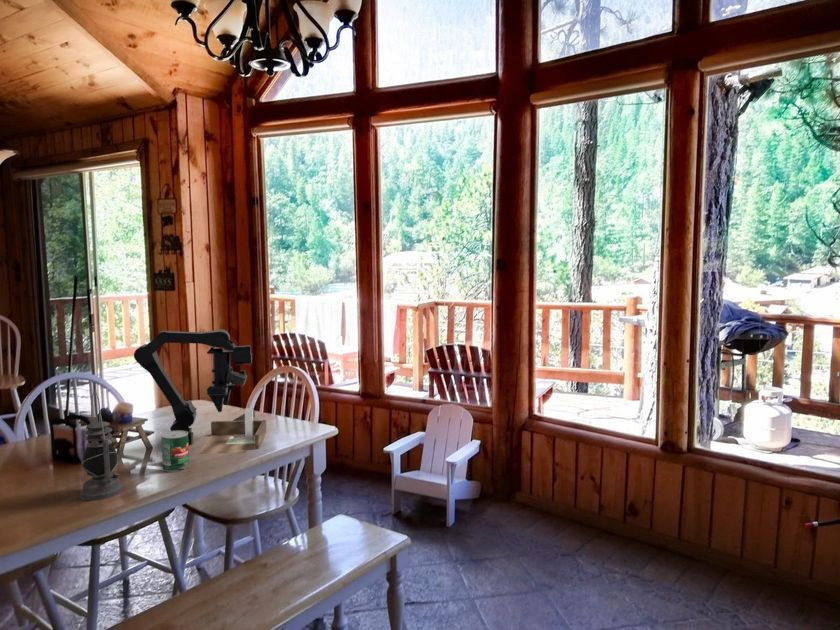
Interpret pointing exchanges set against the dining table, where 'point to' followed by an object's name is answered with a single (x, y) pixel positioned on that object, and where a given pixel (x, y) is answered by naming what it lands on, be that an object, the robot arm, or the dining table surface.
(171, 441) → the canned tomato
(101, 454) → the lantern
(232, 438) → the pad
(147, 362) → the robot arm
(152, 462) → the dining table surface
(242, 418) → the hand tool
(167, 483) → the dining table surface
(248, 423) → the bracket
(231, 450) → the box
